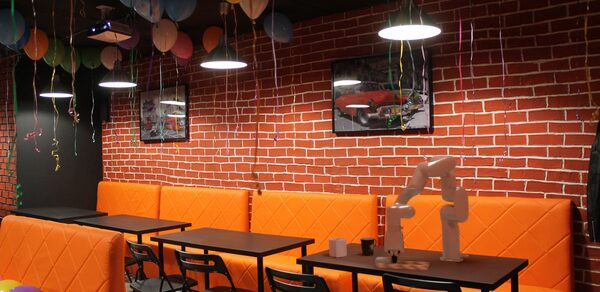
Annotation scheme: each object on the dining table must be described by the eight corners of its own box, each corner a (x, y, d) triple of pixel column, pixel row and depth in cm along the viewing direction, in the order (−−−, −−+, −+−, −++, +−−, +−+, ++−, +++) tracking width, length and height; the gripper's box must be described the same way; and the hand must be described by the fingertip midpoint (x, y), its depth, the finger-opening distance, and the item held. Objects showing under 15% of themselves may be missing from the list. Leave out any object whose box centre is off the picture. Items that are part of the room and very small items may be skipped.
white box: (341, 253, 329) (341, 237, 329) (351, 256, 318) (350, 239, 318) (326, 255, 324) (325, 238, 324) (335, 258, 313) (335, 241, 314)
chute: (429, 267, 283) (429, 262, 283) (427, 271, 274) (426, 266, 274) (381, 264, 292) (381, 259, 292) (377, 269, 283) (377, 263, 283)
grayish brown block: (392, 264, 288) (392, 257, 288) (390, 267, 282) (389, 259, 282) (377, 264, 291) (377, 256, 291) (375, 266, 285) (375, 259, 285)
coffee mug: (364, 256, 316) (363, 240, 316) (358, 254, 324) (358, 237, 324) (382, 255, 319) (381, 238, 319) (376, 252, 327) (375, 236, 327)
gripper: (408, 227, 286) (409, 262, 286) (381, 227, 291) (382, 260, 291) (406, 230, 279) (407, 264, 278) (378, 229, 284) (379, 263, 283)
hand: (394, 262), depth 285 cm, fingers closed
